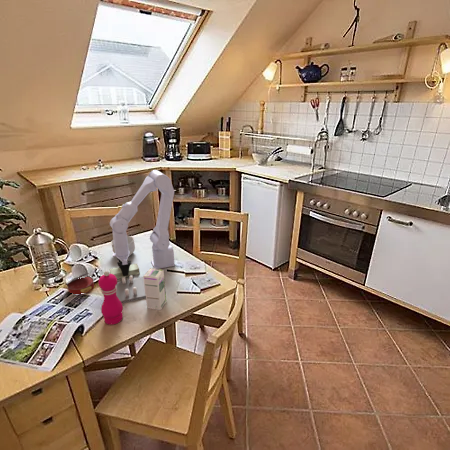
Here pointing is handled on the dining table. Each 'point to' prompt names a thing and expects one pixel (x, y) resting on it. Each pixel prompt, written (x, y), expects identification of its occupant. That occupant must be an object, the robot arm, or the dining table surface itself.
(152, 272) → the syrup box
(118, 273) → the pale green block
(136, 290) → the peg stand
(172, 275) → the dining table surface
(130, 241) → the teacup
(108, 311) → the pepper mill
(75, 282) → the canned food
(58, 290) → the dining table surface
